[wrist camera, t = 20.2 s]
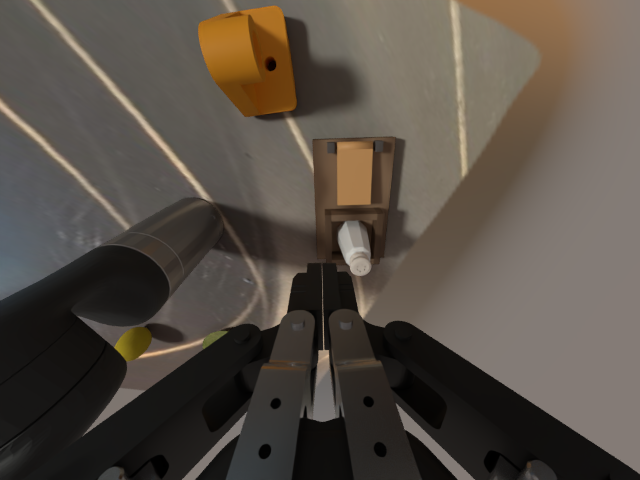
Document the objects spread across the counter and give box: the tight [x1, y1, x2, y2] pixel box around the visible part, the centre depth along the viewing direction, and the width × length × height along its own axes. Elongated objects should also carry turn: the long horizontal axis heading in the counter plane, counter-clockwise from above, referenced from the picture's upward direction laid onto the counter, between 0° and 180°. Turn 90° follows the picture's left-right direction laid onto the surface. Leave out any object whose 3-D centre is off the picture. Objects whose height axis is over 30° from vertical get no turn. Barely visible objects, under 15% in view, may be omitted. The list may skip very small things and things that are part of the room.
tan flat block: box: [337, 141, 373, 205], centre depth 36 cm, size 5×9×1 cm, turn 2°
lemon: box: [115, 327, 152, 361], centre depth 50 cm, size 6×6×8 cm
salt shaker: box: [337, 221, 371, 276], centre depth 37 cm, size 5×5×11 cm
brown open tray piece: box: [313, 137, 396, 265], centre depth 39 cm, size 12×20×5 cm, turn 2°
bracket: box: [198, 6, 297, 117], centre depth 27 cm, size 11×7×12 cm, turn 7°
